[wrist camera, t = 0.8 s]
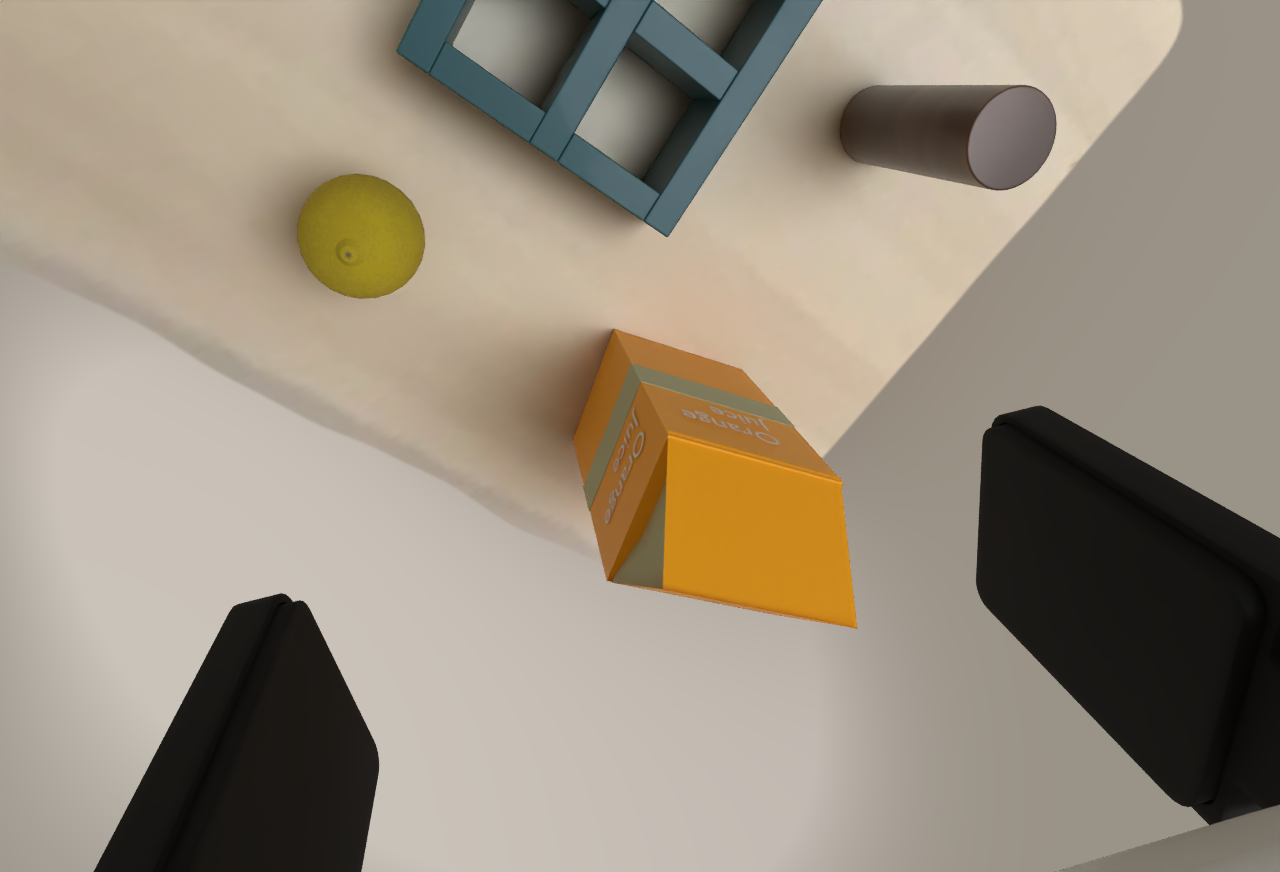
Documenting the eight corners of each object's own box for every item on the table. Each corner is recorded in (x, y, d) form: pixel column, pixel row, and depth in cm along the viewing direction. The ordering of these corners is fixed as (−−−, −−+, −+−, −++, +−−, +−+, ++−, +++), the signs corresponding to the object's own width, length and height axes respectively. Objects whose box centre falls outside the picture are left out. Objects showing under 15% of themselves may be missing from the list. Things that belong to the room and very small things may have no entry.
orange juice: (613, 326, 42) (703, 499, 25) (744, 368, 45) (910, 550, 27) (570, 441, 45) (623, 672, 27) (696, 474, 48) (819, 702, 30)
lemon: (303, 174, 36) (257, 196, 29) (415, 159, 36) (398, 177, 29) (336, 283, 38) (302, 328, 31) (441, 267, 39) (431, 307, 32)
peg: (825, 136, 40) (948, 154, 29) (871, 69, 39) (1016, 62, 28) (874, 178, 41) (1008, 209, 31) (920, 114, 40) (1075, 124, 30)
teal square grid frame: (407, 56, 34) (395, 51, 30) (563, -256, 31) (576, -314, 26) (648, 221, 40) (667, 238, 36) (806, -26, 36) (850, -42, 32)
